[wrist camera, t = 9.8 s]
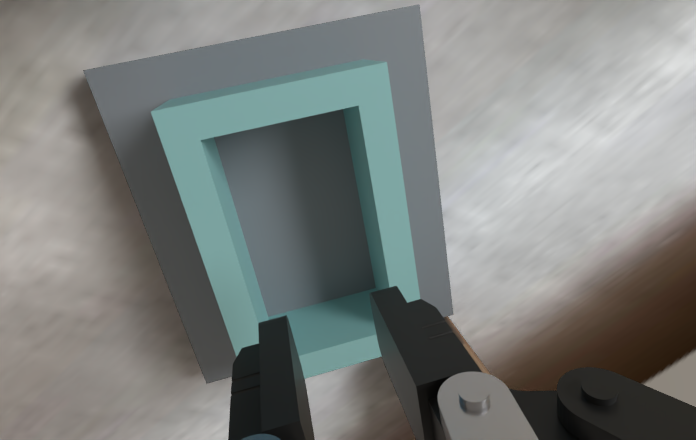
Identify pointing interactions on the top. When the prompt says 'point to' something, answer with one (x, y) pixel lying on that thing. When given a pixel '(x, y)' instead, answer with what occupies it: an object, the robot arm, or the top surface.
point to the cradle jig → (285, 182)
